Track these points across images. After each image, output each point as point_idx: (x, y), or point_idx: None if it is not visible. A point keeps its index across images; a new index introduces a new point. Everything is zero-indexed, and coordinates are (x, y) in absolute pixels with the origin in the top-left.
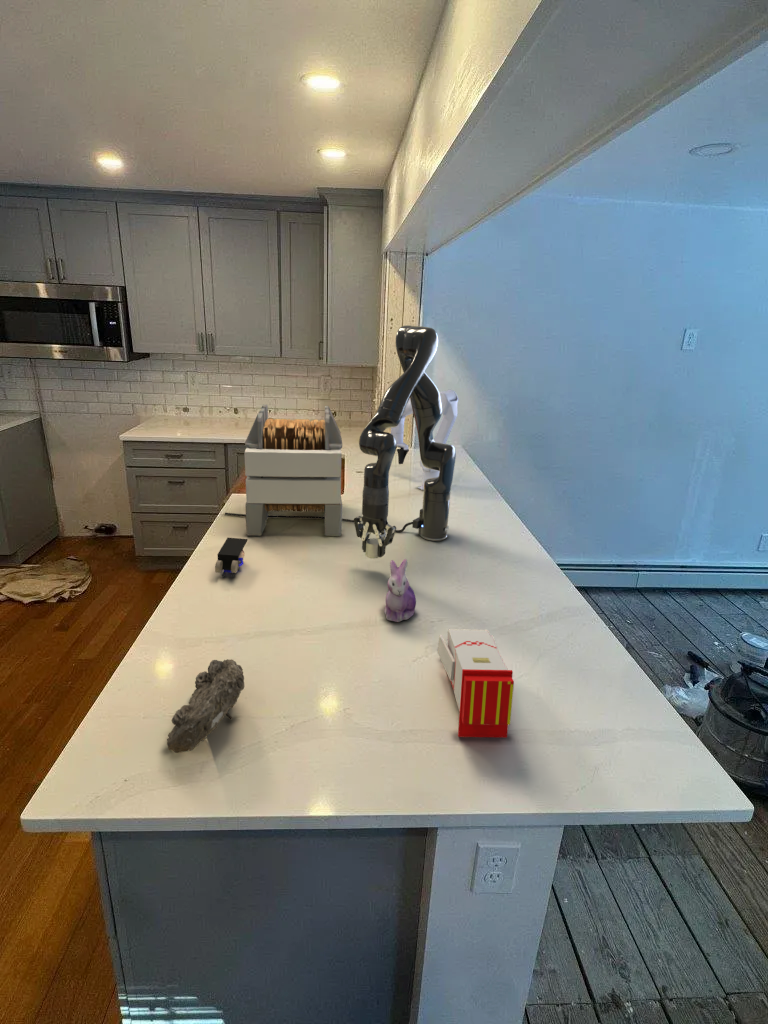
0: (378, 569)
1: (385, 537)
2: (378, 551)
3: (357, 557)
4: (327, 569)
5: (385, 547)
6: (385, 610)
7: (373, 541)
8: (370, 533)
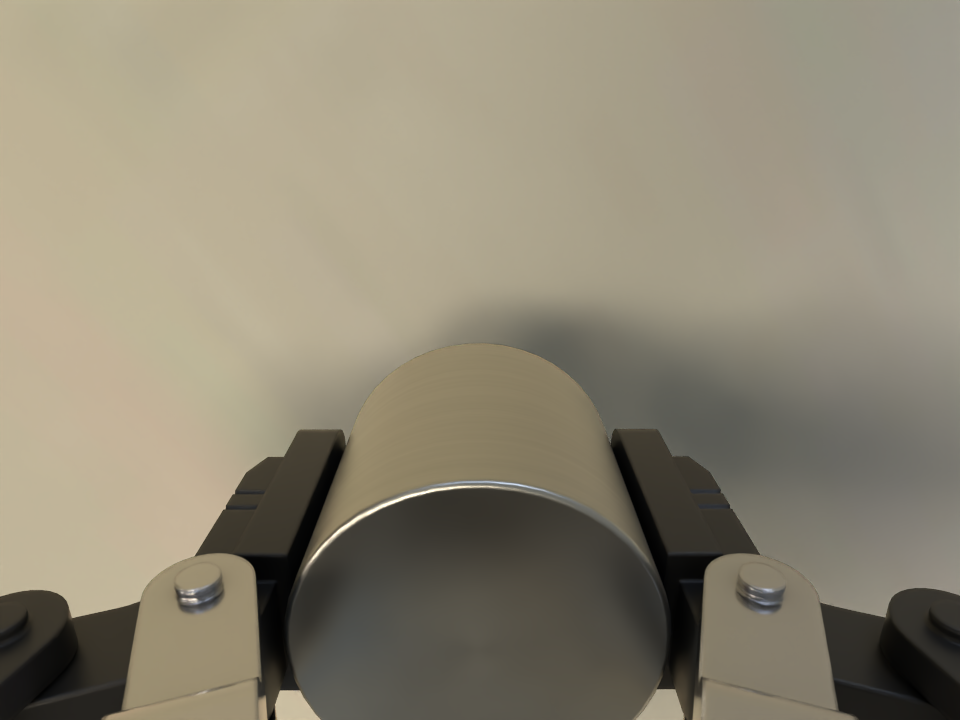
0: (491, 259)
1: (835, 709)
2: None
3: (55, 132)
4: (91, 579)
5: (753, 546)
6: None
7: (478, 666)
8: (262, 697)
